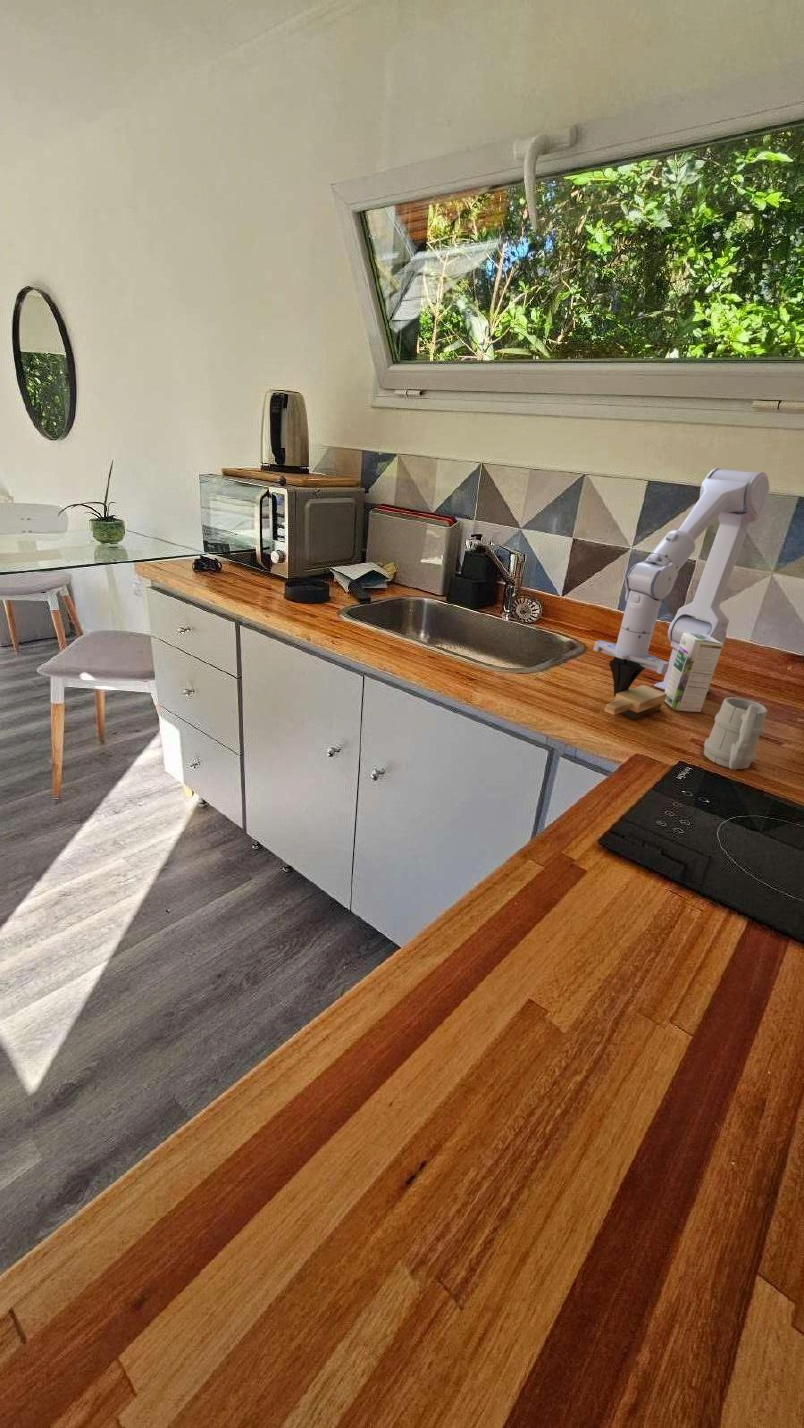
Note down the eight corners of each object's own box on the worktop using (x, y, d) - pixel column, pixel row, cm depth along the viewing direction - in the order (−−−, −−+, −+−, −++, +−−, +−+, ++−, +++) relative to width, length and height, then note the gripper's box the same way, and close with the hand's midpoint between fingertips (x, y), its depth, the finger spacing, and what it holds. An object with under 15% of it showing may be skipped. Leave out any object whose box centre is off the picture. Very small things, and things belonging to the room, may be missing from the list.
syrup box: (661, 699, 122) (681, 631, 116) (689, 701, 122) (710, 633, 116) (672, 710, 117) (694, 639, 111) (702, 713, 117) (725, 642, 111)
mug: (748, 754, 101) (773, 689, 96) (758, 786, 91) (786, 715, 86) (700, 743, 104) (721, 679, 99) (704, 773, 93) (728, 703, 89)
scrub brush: (639, 701, 120) (643, 684, 118) (662, 710, 117) (667, 693, 115) (595, 716, 111) (599, 698, 109) (618, 727, 107) (623, 708, 106)
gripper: (591, 620, 113) (576, 687, 118) (662, 643, 103) (642, 714, 109) (612, 617, 117) (596, 681, 123) (681, 638, 107) (661, 707, 113)
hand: (619, 696), depth 116 cm, fingers closed
